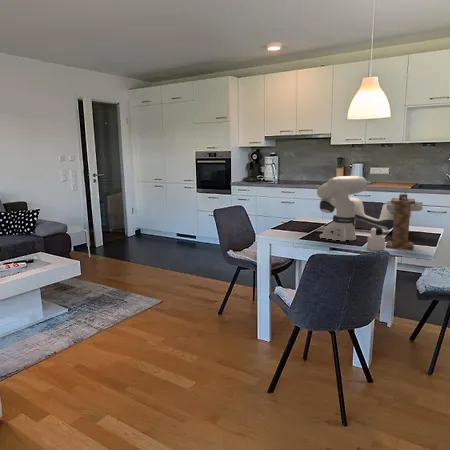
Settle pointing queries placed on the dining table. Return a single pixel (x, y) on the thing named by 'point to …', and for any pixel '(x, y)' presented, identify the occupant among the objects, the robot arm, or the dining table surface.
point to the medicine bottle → (376, 240)
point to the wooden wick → (403, 196)
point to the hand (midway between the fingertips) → (404, 200)
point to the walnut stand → (401, 224)
